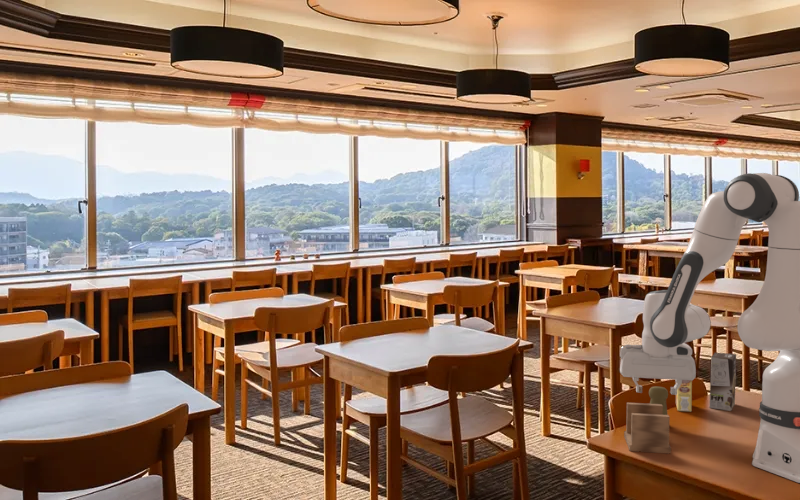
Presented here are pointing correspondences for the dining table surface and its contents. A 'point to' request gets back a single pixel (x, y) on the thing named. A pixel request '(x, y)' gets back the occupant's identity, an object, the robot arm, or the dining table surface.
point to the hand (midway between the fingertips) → (656, 393)
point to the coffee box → (722, 381)
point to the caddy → (647, 428)
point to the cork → (659, 397)
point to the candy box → (684, 396)
